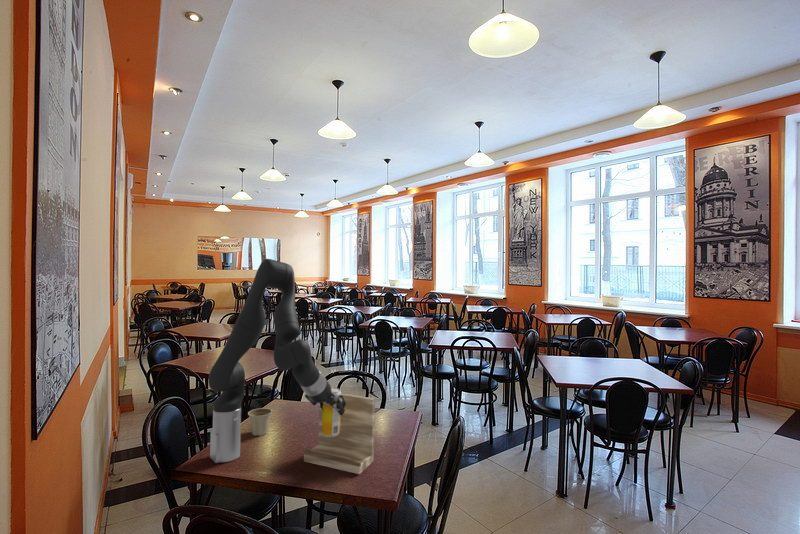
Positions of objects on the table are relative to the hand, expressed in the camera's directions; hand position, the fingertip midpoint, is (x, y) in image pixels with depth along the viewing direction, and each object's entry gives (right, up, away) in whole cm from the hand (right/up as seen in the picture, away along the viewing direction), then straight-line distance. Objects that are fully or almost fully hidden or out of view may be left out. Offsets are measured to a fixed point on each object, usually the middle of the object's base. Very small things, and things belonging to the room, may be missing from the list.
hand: (334, 411), depth 140 cm
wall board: (+1, -19, +3) cm, 19 cm away
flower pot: (-35, -19, +27) cm, 48 cm away
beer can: (-1, -7, -2) cm, 8 cm away
